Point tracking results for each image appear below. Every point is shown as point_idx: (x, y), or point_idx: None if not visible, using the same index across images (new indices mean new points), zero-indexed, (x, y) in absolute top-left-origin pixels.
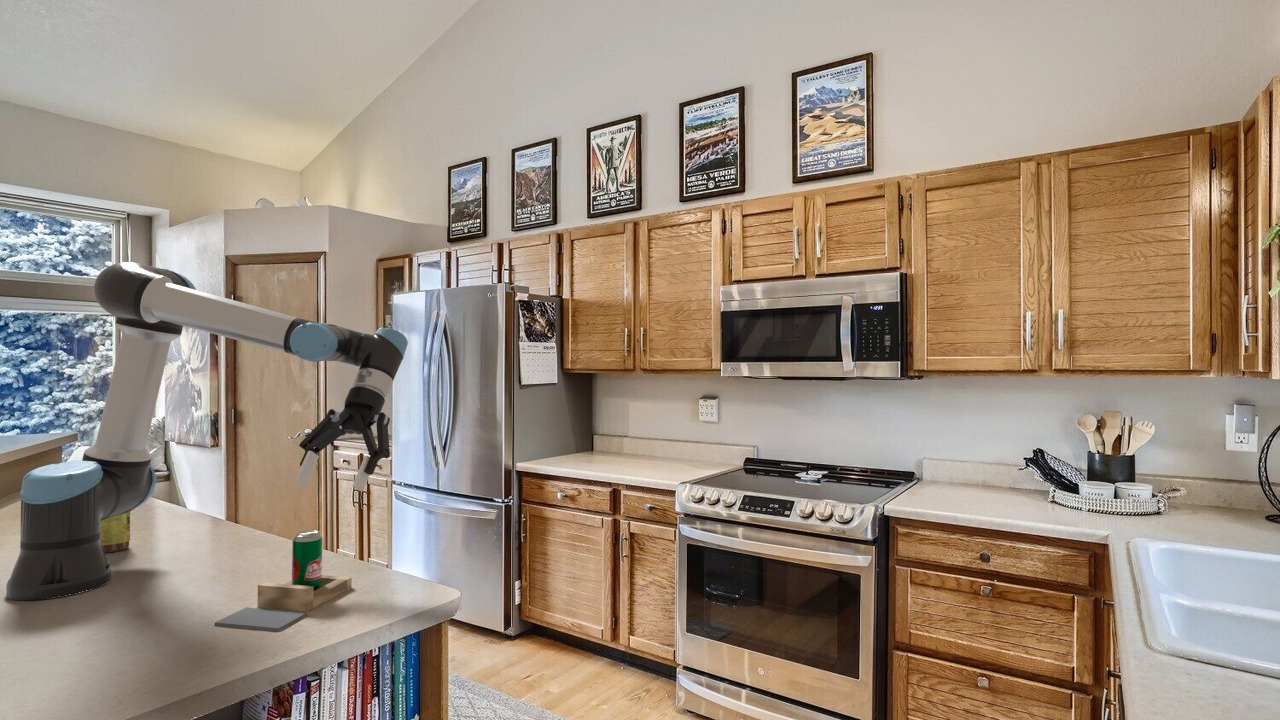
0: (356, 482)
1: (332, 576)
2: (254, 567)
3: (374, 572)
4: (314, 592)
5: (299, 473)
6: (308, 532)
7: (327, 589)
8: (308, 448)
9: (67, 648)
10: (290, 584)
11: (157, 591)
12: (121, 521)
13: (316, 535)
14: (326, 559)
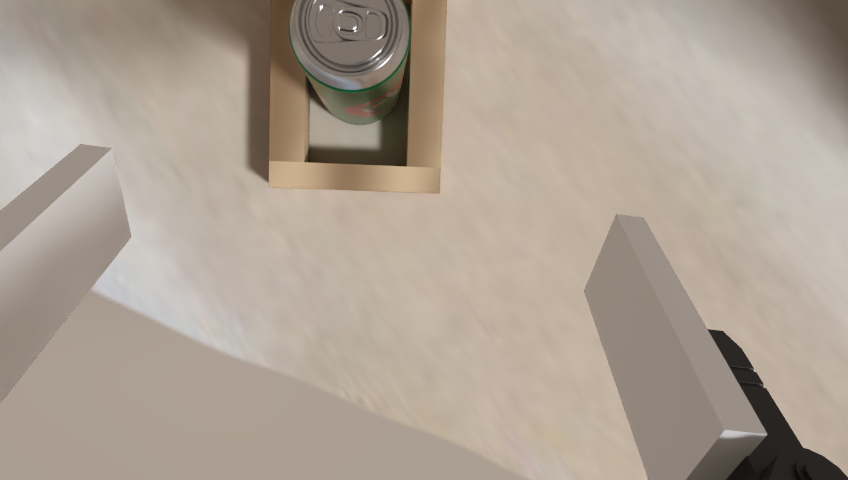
0: (70, 161)
1: (336, 183)
2: None
3: (287, 338)
4: None
5: (648, 251)
6: (354, 36)
7: (273, 59)
8: (797, 467)
9: None
10: (420, 85)
11: (807, 61)
12: None
13: (295, 10)
14: (521, 430)
